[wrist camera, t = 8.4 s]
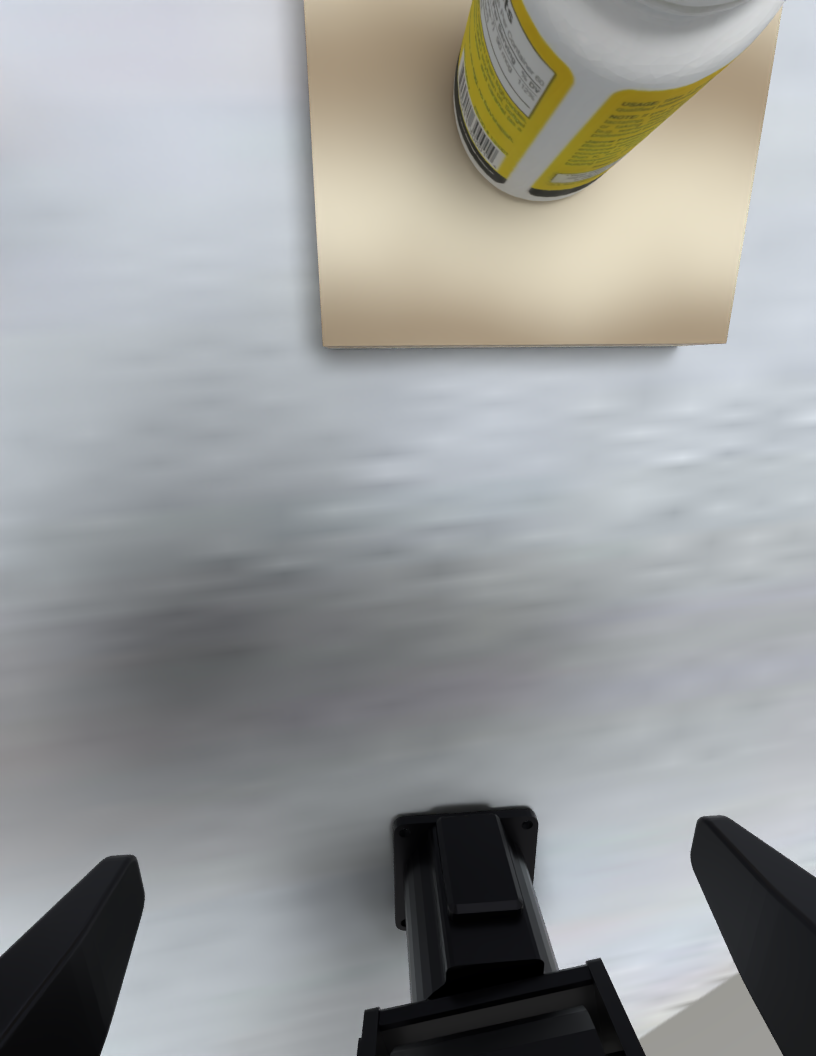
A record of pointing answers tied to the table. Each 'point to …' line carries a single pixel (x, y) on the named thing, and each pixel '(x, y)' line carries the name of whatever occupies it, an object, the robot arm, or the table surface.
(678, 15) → the supplement bottle
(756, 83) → the birch base
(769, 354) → the table surface
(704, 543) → the table surface
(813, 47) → the table surface
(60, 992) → the robot arm
